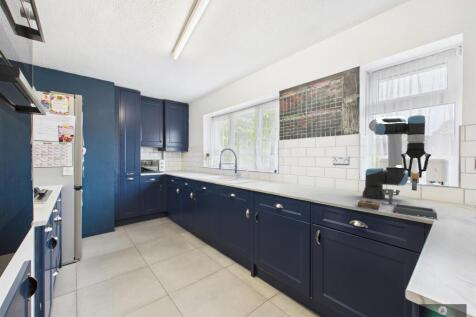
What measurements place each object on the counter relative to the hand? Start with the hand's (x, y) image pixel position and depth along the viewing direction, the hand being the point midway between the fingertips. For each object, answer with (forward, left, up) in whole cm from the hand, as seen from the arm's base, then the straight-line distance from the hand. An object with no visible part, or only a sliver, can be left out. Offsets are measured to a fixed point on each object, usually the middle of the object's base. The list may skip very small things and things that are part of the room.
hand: (414, 182), depth 116 cm
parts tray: (0, 0, -18) cm, 18 cm away
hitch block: (0, -22, -18) cm, 28 cm away
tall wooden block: (0, 0, -4) cm, 4 cm away
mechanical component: (-19, -11, -18) cm, 28 cm away
